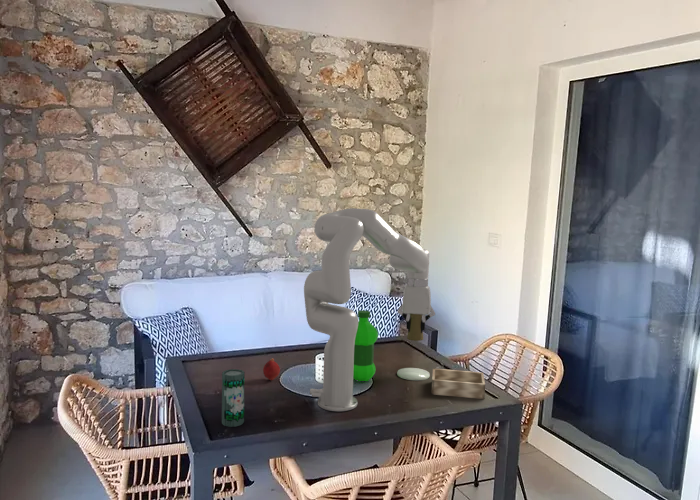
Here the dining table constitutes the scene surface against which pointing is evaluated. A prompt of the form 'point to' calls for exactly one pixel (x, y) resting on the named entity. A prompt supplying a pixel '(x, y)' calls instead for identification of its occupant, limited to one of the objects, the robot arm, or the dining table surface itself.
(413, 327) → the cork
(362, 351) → the plastic bottle
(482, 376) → the box
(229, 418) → the can
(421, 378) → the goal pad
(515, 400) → the dining table surface
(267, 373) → the onion
